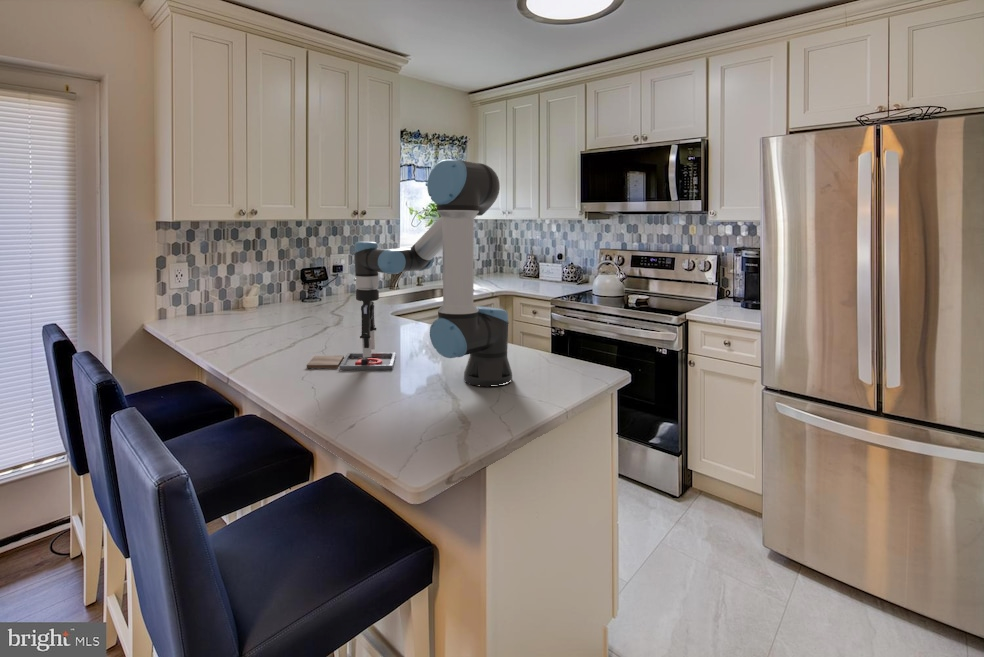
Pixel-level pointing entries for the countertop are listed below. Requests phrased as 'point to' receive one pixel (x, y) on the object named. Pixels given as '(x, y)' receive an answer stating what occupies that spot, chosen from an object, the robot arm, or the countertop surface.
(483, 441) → the countertop surface
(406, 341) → the countertop surface
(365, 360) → the tow hook
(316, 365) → the walnut board
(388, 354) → the grey square tray
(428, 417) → the countertop surface
